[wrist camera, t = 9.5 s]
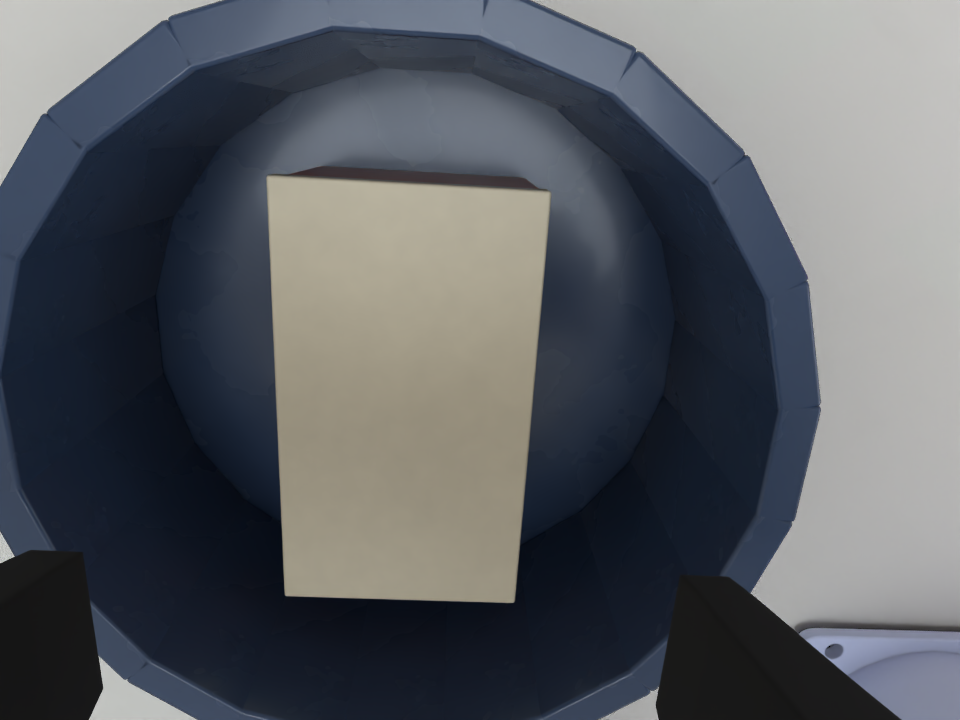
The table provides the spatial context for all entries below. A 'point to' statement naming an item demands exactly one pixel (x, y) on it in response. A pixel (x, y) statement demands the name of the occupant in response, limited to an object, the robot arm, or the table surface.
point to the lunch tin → (251, 370)
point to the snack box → (404, 378)
